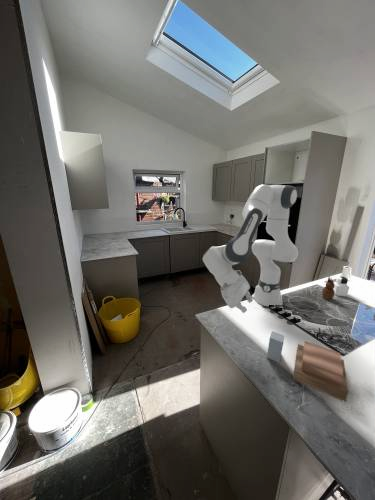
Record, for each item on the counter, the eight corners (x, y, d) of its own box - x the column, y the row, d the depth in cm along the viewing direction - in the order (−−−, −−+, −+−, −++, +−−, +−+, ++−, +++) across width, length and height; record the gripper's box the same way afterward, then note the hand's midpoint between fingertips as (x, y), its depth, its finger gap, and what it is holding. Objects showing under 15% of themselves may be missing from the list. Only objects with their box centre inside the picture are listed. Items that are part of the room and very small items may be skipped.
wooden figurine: (319, 295, 137) (324, 274, 133) (328, 295, 137) (333, 275, 132) (325, 300, 131) (330, 279, 126) (334, 301, 130) (340, 279, 126)
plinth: (296, 351, 90) (299, 336, 87) (341, 367, 82) (346, 351, 79) (292, 379, 77) (296, 362, 74) (345, 401, 69) (351, 383, 66)
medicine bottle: (341, 291, 143) (345, 276, 139) (346, 296, 136) (351, 280, 132) (330, 290, 144) (334, 274, 141) (334, 295, 138) (338, 279, 134)
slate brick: (269, 349, 90) (272, 330, 87) (281, 354, 88) (284, 335, 85) (266, 357, 86) (269, 337, 83) (279, 362, 84) (283, 342, 81)
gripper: (224, 285, 79) (247, 315, 77) (241, 269, 96) (259, 293, 94) (213, 292, 83) (234, 321, 81) (231, 275, 100) (249, 299, 97)
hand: (248, 306), depth 87 cm, fingers open, 8 cm apart
